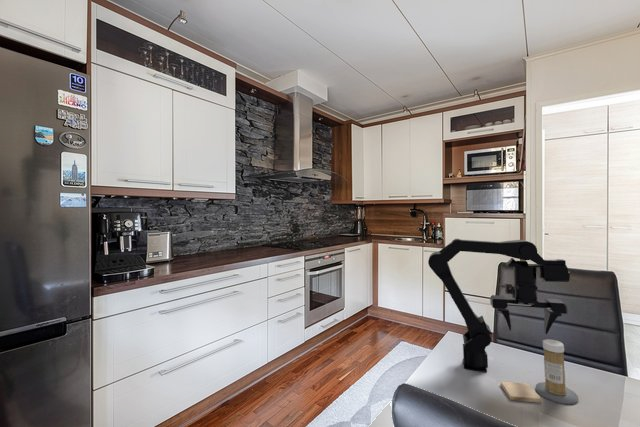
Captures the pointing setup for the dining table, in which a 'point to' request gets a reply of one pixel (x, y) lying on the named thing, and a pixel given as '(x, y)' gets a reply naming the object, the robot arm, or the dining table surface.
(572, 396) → the coaster
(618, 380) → the dining table surface
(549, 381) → the sprinkles bottle
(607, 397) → the dining table surface
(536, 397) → the tan square cloth
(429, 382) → the dining table surface
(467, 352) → the robot arm
